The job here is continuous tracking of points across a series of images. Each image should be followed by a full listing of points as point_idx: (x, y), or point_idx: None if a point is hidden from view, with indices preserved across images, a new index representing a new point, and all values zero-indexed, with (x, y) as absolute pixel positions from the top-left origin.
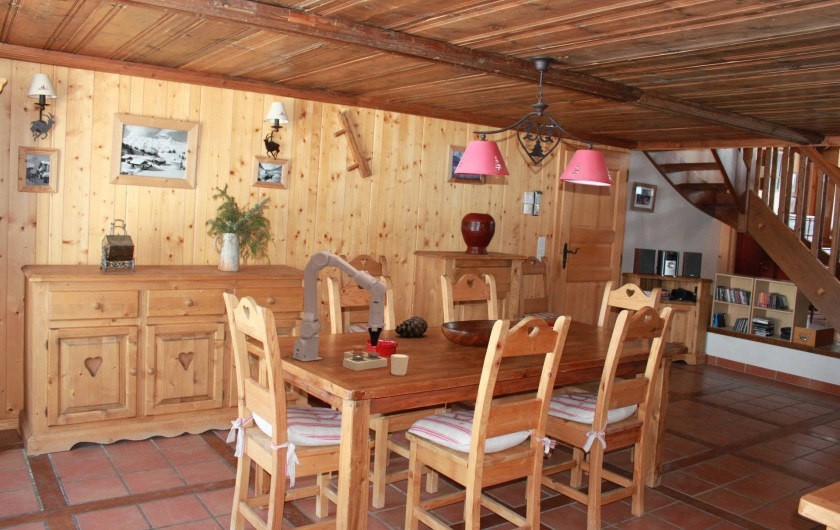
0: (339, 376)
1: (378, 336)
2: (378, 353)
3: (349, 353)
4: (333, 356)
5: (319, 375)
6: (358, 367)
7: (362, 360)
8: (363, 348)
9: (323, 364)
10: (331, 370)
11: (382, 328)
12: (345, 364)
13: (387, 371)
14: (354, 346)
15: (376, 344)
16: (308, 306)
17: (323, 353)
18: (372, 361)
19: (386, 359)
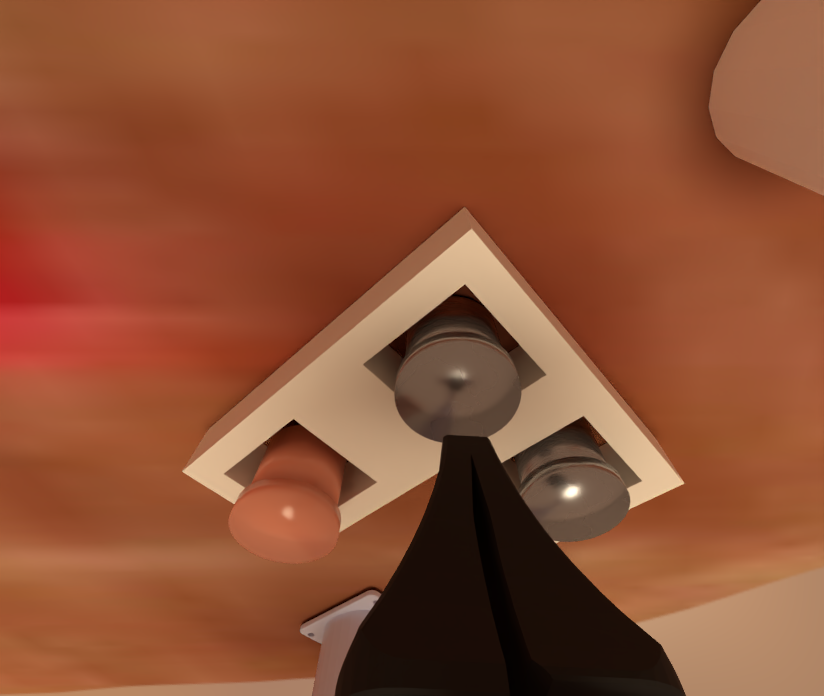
0: (803, 513)
1: (567, 563)
2: (437, 351)
3: None
4: None
5: (759, 584)
6: (655, 442)
7: (591, 450)
8: (300, 485)
9: None
10: (640, 547)
11: (437, 692)
12: None
13: (682, 203)
14: (309, 553)
15: (495, 458)
16: None
17: (205, 585)
18: (593, 373)
19: (482, 239)
